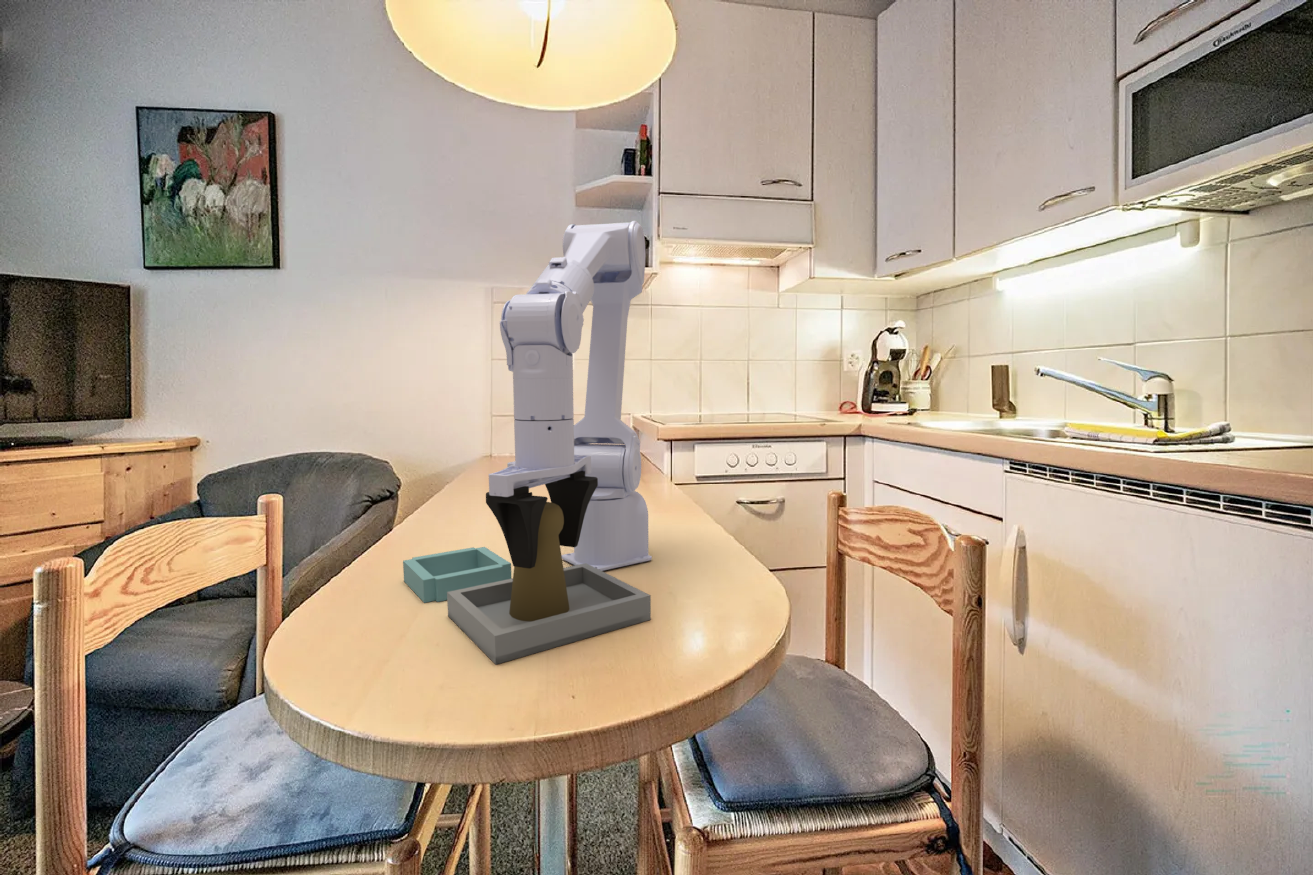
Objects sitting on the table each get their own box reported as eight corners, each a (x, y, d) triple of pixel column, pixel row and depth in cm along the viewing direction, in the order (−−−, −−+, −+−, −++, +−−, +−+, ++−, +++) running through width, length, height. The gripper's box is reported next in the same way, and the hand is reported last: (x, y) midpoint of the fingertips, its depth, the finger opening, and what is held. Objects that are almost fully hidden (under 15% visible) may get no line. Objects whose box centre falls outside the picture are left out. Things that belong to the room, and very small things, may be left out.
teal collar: (483, 564, 78) (482, 545, 78) (513, 585, 70) (513, 564, 70) (402, 579, 72) (401, 559, 72) (425, 604, 64) (424, 581, 64)
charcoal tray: (586, 583, 70) (585, 563, 70) (650, 619, 60) (650, 595, 60) (447, 615, 61) (447, 591, 61) (495, 664, 51) (494, 635, 50)
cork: (575, 616, 59) (573, 506, 58) (513, 625, 57) (510, 511, 56) (562, 595, 65) (561, 495, 64) (505, 603, 63) (502, 499, 62)
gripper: (551, 414, 67) (553, 534, 68) (459, 423, 54) (464, 571, 55) (607, 415, 64) (608, 540, 65) (525, 425, 51) (528, 581, 52)
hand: (547, 555), depth 60 cm, fingers open, 7 cm apart
